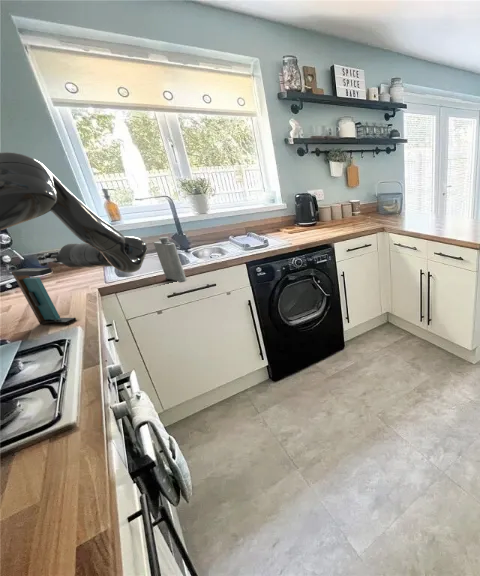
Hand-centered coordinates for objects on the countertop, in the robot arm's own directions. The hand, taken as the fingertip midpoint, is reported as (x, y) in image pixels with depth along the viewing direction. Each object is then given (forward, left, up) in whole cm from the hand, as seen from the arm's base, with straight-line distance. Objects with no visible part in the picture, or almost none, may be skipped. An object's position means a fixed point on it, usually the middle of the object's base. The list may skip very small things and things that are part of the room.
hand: (40, 256), depth 98 cm
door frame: (-5, +5, -24) cm, 25 cm away
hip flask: (+32, +29, -24) cm, 49 cm away
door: (-6, +6, -22) cm, 24 cm away
